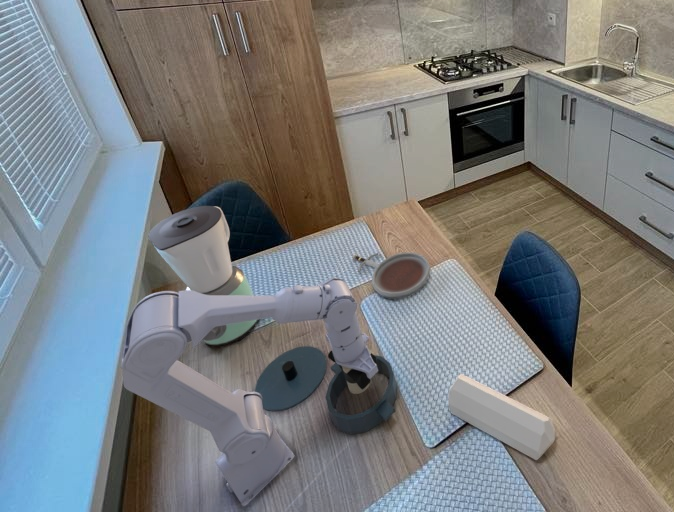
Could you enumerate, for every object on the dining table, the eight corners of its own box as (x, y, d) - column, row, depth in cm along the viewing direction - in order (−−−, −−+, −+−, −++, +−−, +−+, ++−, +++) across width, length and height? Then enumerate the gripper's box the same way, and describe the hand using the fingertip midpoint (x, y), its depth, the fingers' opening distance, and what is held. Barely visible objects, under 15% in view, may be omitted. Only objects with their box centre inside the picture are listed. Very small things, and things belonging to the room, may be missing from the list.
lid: (277, 427, 84) (270, 414, 82) (244, 387, 92) (237, 374, 90) (340, 370, 95) (336, 357, 93) (305, 338, 103) (301, 326, 101)
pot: (366, 459, 78) (360, 443, 76) (312, 401, 88) (305, 385, 86) (418, 399, 88) (415, 383, 86) (364, 353, 98) (360, 338, 96)
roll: (357, 398, 83) (350, 375, 80) (344, 386, 86) (337, 363, 82) (375, 381, 86) (368, 357, 83) (362, 369, 89) (355, 346, 86)
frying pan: (372, 236, 134) (441, 260, 122) (373, 243, 135) (442, 267, 123) (330, 271, 120) (404, 302, 108) (333, 278, 121) (406, 309, 110)
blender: (246, 353, 99) (195, 242, 84) (187, 360, 98) (124, 249, 83) (276, 292, 116) (238, 191, 101) (226, 298, 115) (180, 196, 100)
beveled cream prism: (564, 409, 82) (464, 361, 92) (554, 429, 76) (447, 375, 85) (557, 445, 82) (458, 393, 92) (546, 469, 75) (440, 410, 85)
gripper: (385, 337, 78) (395, 382, 84) (341, 303, 86) (353, 346, 92) (354, 366, 73) (367, 411, 79) (310, 327, 81) (325, 371, 87)
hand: (358, 378), depth 85 cm, fingers closed on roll, 4 cm apart
